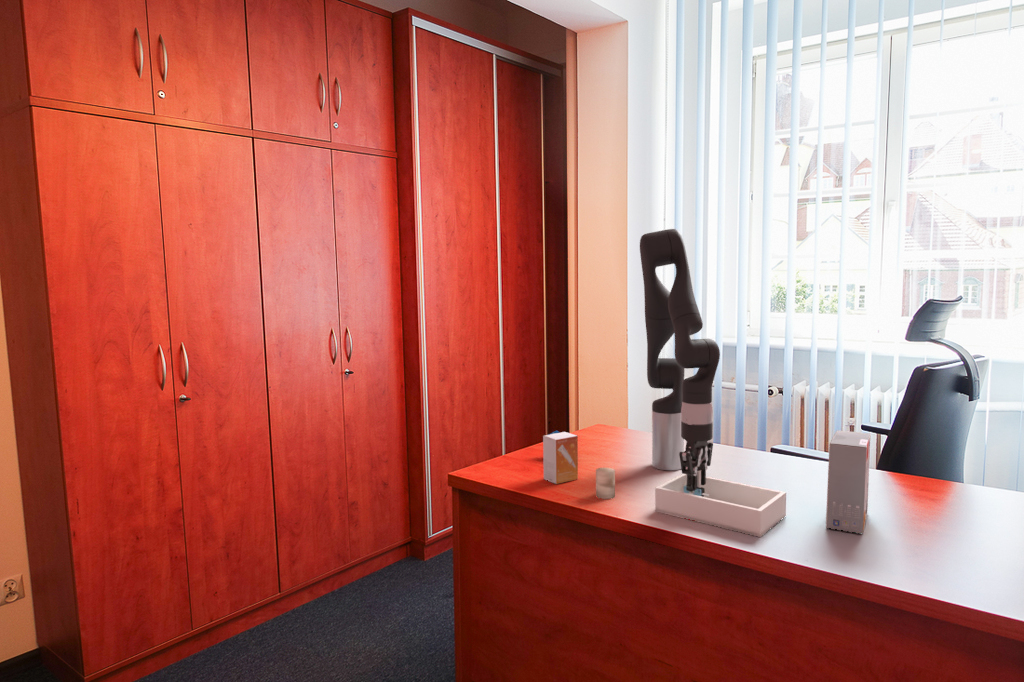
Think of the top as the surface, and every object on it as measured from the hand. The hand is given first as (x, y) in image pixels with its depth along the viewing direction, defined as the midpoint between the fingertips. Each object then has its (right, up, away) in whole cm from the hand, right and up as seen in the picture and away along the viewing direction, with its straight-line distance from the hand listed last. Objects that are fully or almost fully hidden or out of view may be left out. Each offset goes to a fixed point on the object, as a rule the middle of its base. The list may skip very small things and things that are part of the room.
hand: (696, 486), depth 161 cm
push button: (0, -3, 0) cm, 3 cm away
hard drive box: (+33, -6, -10) cm, 35 cm away
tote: (+5, -6, -4) cm, 8 cm away
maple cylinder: (-21, -5, +11) cm, 24 cm away
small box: (-32, -4, +26) cm, 41 cm away
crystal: (-30, -2, +47) cm, 56 cm away
